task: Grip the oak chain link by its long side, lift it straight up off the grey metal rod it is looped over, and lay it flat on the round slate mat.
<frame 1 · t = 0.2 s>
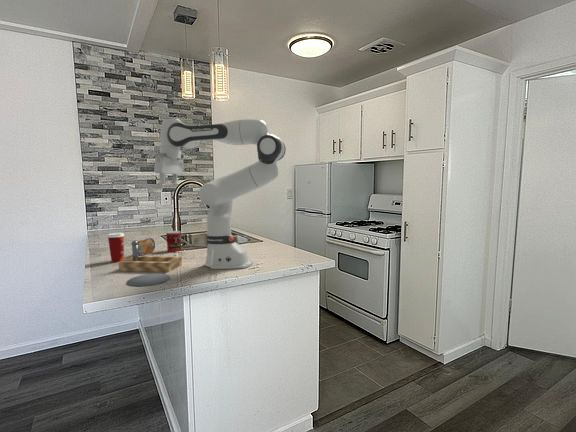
hand: (168, 183, 153), 38 cm above the worktop, tool pointing down, fingers open, 8 cm apart
paper cup: (117, 261, 164), on the worktop
tin: (145, 254, 179), on the worktop
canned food: (174, 250, 187), on the worktop
grey metal rod: (136, 267, 150), on the worktop
oak link: (151, 267, 149), on the worktop
slate mat: (149, 280, 130), on the worktop
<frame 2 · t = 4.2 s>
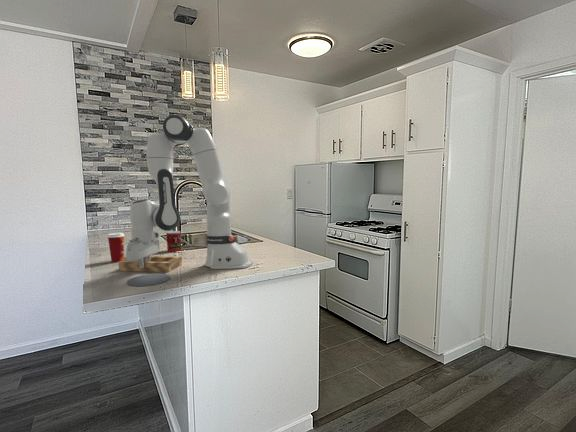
hand: (144, 266, 144), 2 cm above the worktop, tool pointing down, fingers closed on oak link, 2 cm apart
oak link: (151, 267, 149), on the worktop, touching gripper
everything else where it was.
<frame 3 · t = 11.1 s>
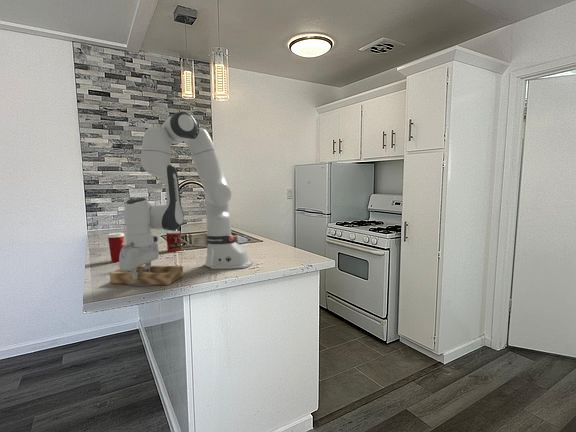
hand: (141, 276, 125), 3 cm above the worktop, tool pointing down, fingers open, 6 cm apart
oak link: (147, 279, 130), on the worktop, touching slate mat
everything else where it was.
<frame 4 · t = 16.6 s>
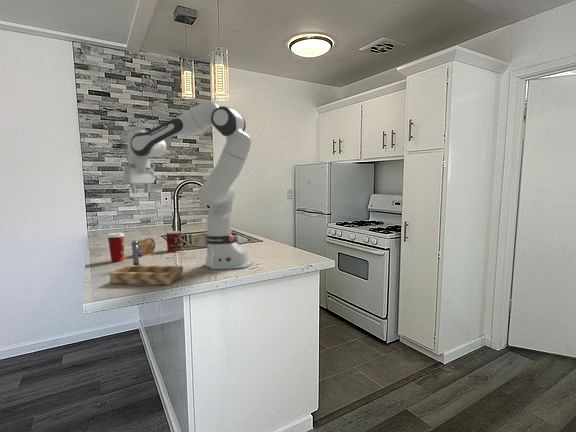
hand: (140, 193, 158), 34 cm above the worktop, tool pointing down, fingers open, 8 cm apart
nothing on the worktop moved.
at the end: oak link 0.4 cm from the slate mat (horizontally); oak link tilted 0°; oak link touching slate mat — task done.
